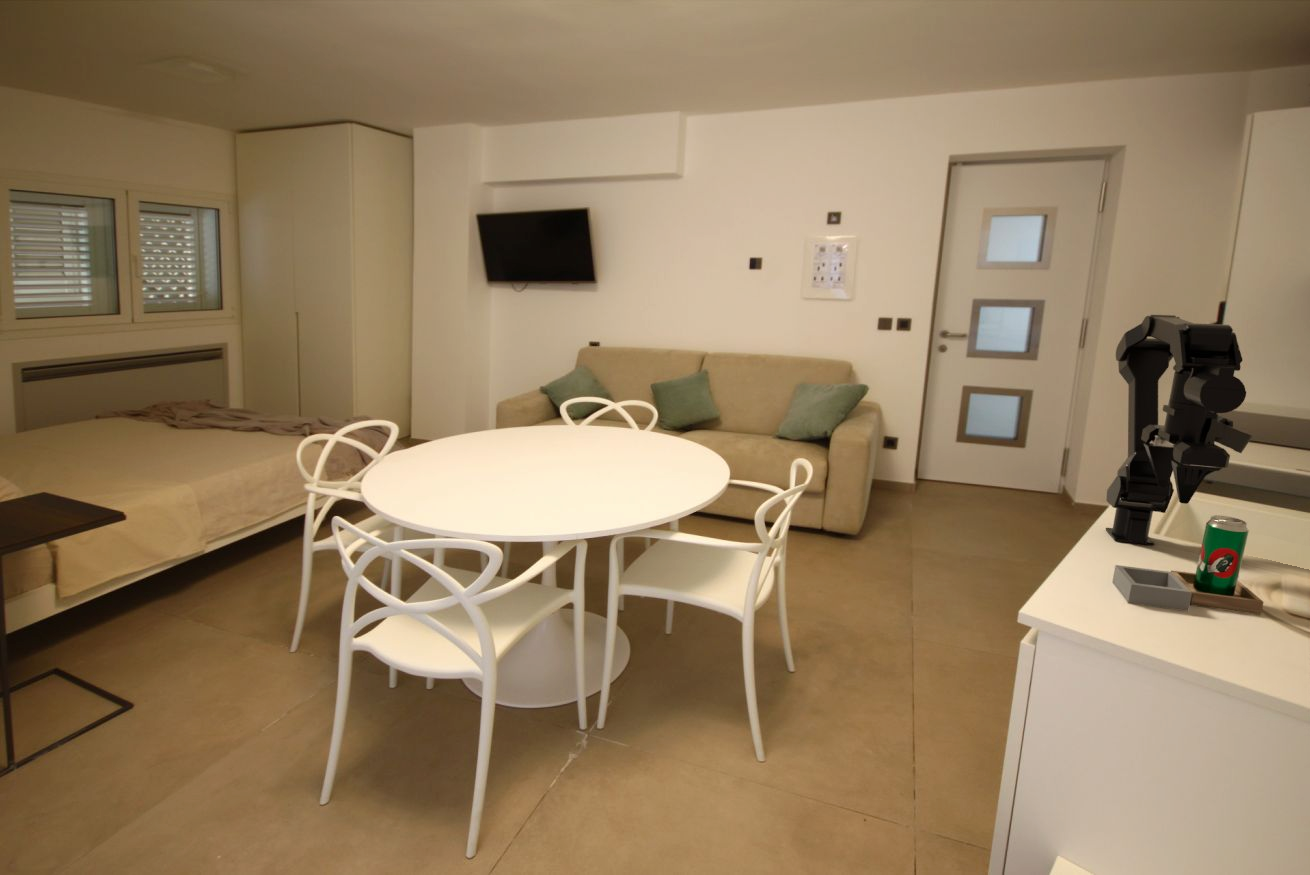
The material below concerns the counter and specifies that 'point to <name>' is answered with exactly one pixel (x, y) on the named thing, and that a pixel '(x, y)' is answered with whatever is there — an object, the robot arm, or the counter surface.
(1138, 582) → the box
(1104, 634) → the counter surface
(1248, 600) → the walnut tray
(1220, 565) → the soda can
